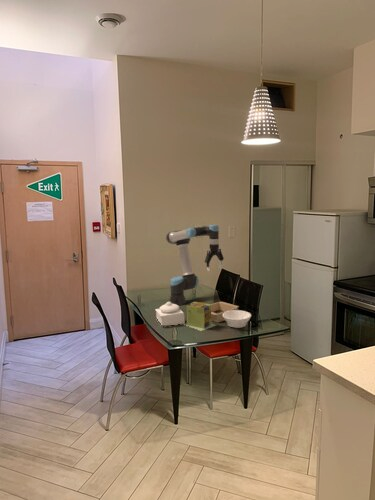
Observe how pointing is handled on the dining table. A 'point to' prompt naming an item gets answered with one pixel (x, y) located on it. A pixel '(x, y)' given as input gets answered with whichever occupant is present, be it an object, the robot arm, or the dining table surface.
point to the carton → (222, 307)
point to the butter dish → (170, 314)
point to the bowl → (236, 318)
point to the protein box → (199, 314)
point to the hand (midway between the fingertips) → (214, 269)
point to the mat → (200, 328)
